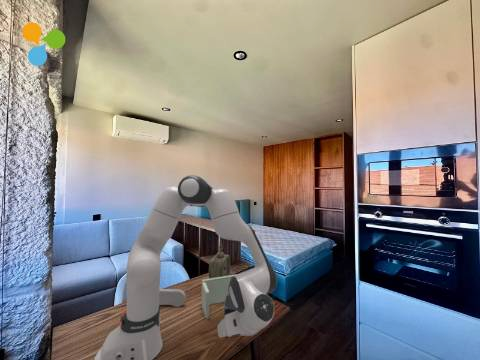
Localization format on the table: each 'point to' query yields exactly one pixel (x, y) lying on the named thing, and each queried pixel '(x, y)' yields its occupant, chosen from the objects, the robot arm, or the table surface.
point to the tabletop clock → (219, 265)
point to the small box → (228, 306)
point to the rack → (214, 291)
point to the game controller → (171, 297)
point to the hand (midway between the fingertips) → (239, 328)
